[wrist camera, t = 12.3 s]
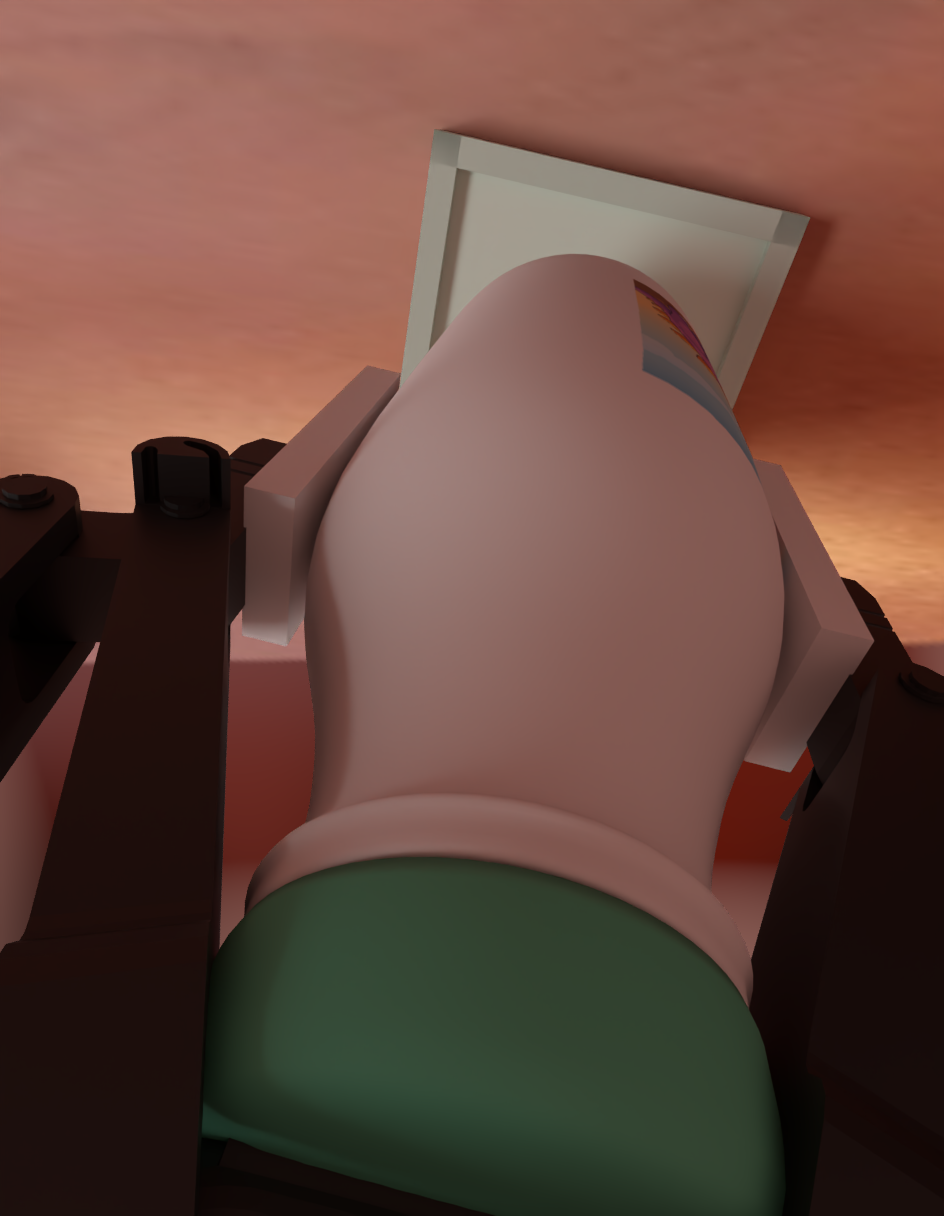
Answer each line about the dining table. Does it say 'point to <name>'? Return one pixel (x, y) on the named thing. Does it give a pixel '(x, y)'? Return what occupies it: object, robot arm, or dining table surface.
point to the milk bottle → (523, 784)
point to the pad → (596, 242)
